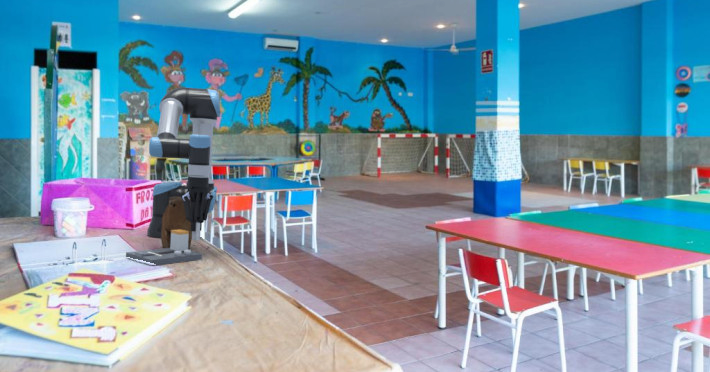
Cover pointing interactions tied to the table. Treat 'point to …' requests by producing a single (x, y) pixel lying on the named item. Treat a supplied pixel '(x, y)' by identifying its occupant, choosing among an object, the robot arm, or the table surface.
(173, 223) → the brown rounded upright piece
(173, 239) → the fader tab
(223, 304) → the table surface
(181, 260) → the console board
